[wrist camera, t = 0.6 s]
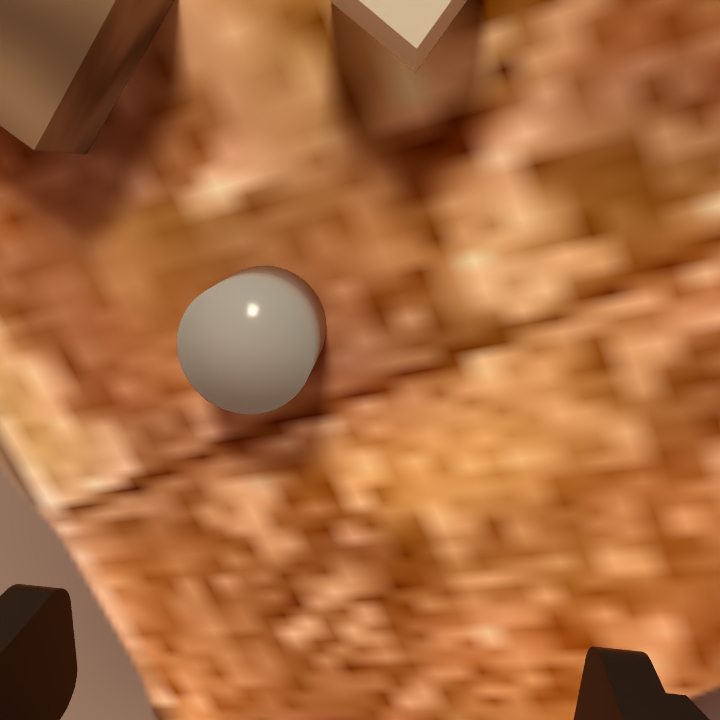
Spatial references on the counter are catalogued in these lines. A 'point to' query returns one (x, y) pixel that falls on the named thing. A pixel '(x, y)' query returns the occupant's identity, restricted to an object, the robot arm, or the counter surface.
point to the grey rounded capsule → (252, 339)
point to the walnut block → (69, 65)
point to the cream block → (403, 24)
